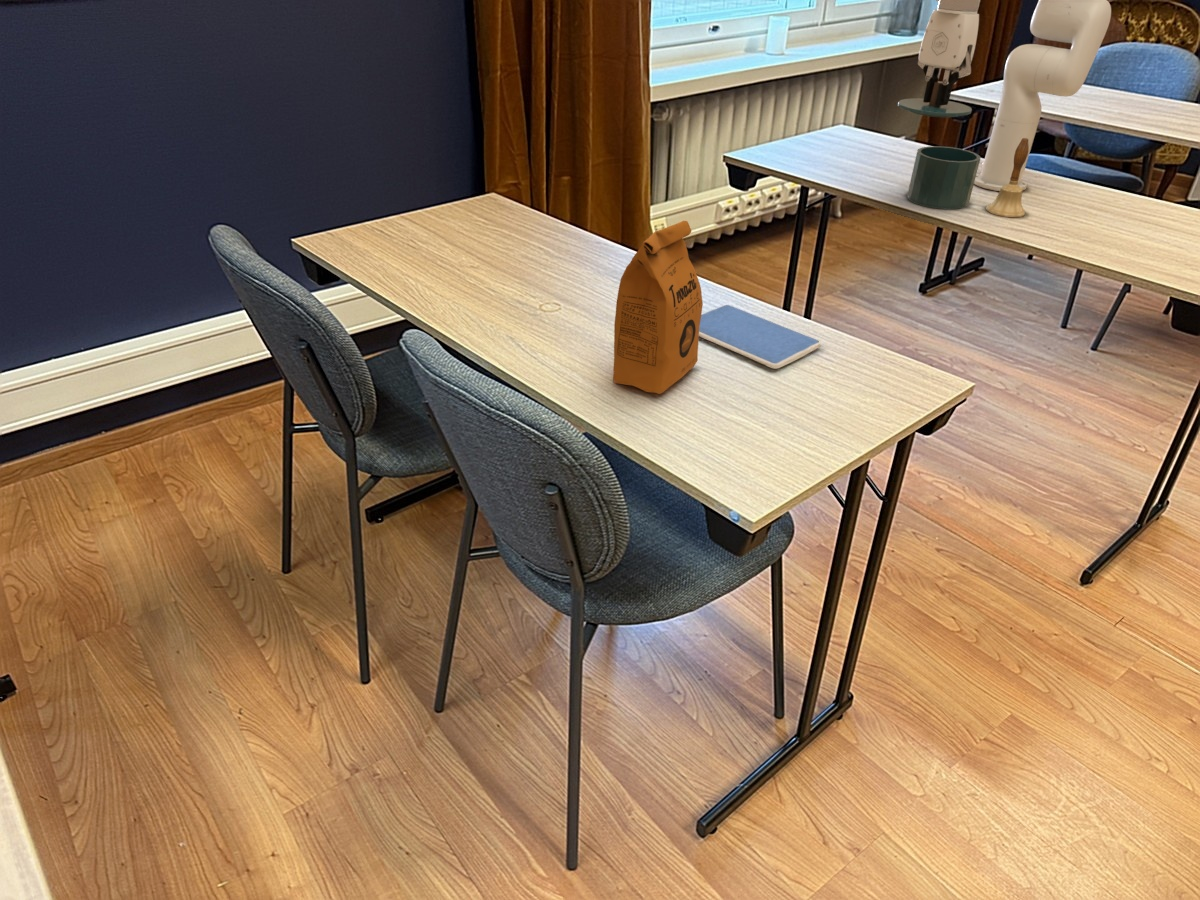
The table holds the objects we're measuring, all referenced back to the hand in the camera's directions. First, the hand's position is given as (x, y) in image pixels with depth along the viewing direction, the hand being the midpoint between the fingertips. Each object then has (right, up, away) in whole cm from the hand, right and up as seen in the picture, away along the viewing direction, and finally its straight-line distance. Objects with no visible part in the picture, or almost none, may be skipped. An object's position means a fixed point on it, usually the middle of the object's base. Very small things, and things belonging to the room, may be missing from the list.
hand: (935, 102), depth 178 cm
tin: (+9, -14, +23) cm, 28 cm away
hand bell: (+22, -18, +17) cm, 33 cm away
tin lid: (0, -1, +1) cm, 1 cm away
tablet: (-46, -55, -42) cm, 83 cm away
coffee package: (-61, -61, -53) cm, 102 cm away
